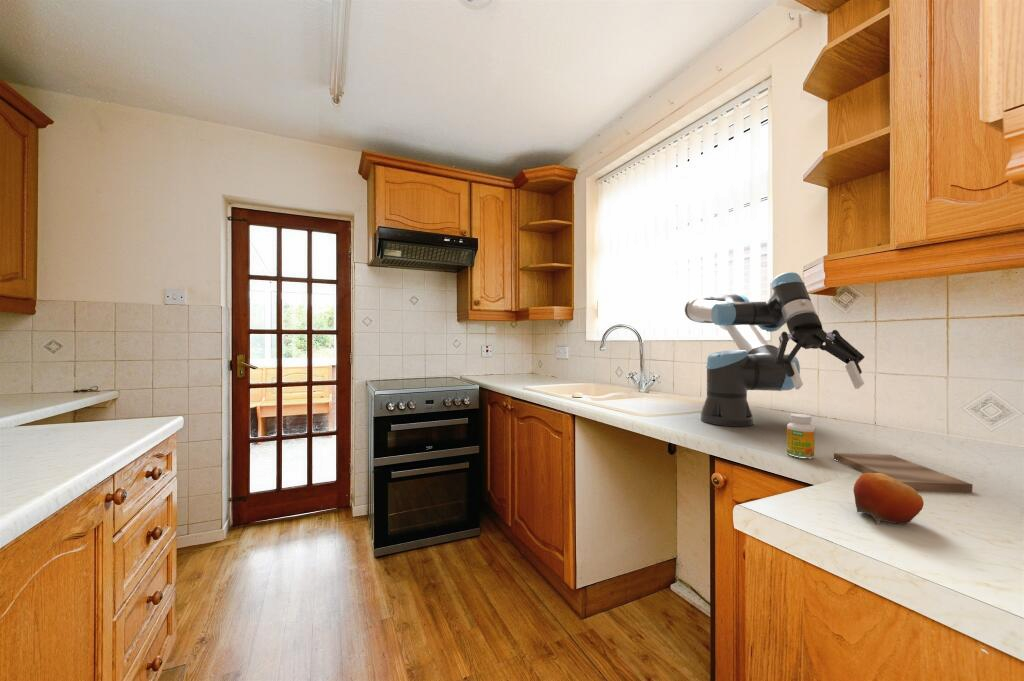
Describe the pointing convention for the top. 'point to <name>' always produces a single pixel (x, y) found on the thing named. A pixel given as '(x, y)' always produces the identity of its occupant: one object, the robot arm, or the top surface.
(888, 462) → the walnut board
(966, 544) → the top surface
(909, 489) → the fruit
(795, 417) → the supplement bottle
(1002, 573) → the top surface
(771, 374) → the robot arm
